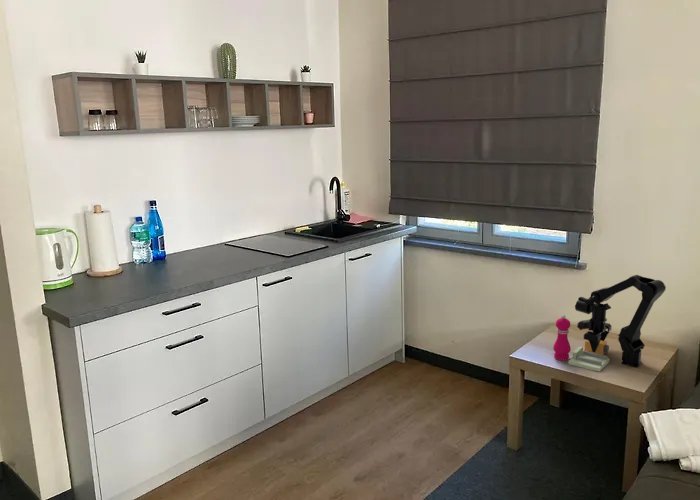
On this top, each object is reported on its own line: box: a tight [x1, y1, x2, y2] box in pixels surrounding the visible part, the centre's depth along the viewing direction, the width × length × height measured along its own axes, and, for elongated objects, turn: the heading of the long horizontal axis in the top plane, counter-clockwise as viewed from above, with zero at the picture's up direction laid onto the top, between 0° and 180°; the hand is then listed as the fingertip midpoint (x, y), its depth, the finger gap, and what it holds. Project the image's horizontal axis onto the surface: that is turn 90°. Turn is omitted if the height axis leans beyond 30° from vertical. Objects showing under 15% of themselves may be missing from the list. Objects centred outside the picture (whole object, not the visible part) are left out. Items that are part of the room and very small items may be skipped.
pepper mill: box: [553, 314, 572, 362], centre depth 256 cm, size 7×7×20 cm
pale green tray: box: [567, 346, 610, 372], centre depth 251 cm, size 13×12×4 cm
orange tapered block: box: [584, 340, 610, 355], centre depth 262 cm, size 9×4×5 cm, turn 49°
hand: (596, 349), depth 263 cm, fingers open, 7 cm apart
